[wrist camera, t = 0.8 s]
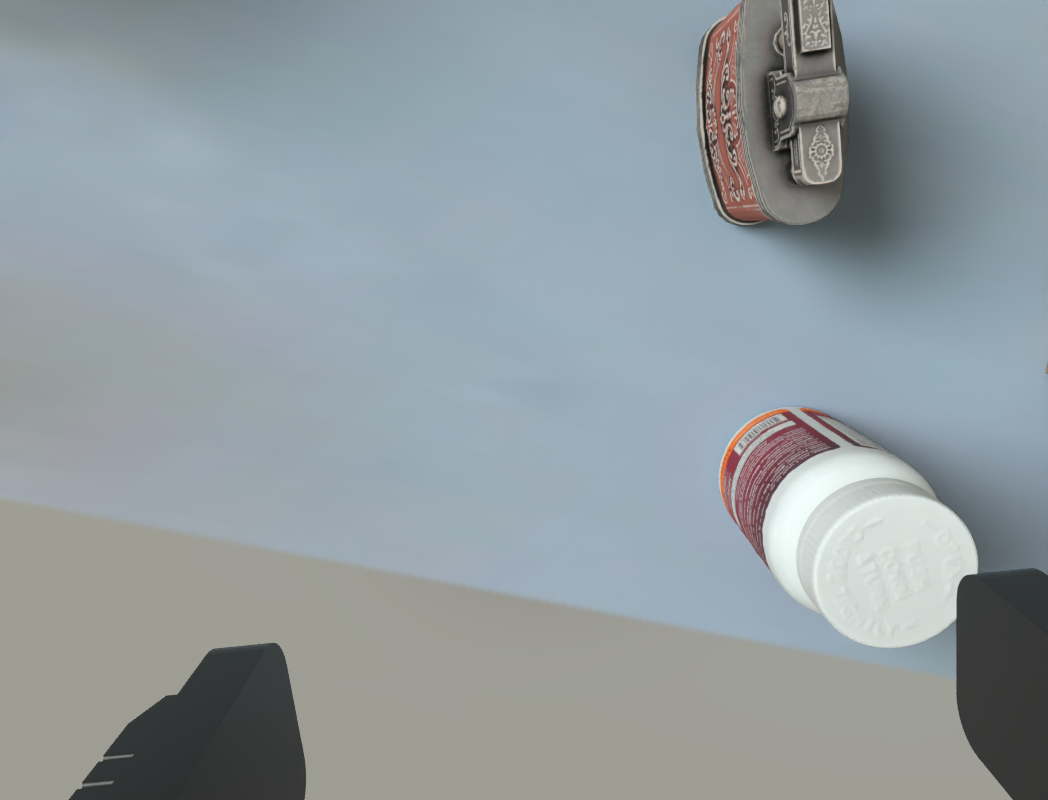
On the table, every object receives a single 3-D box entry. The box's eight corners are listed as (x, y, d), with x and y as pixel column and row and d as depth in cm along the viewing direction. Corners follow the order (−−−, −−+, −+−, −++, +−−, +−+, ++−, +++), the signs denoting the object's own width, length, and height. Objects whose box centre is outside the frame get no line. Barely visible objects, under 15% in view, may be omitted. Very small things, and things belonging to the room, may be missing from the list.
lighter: (788, 219, 35) (888, 216, 25) (706, 230, 35) (775, 232, 25) (772, 12, 33) (872, -77, 24) (686, 25, 33) (751, -58, 24)
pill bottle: (712, 537, 38) (788, 666, 27) (719, 402, 37) (801, 479, 25) (850, 537, 38) (984, 667, 27) (861, 403, 37) (1007, 479, 25)
